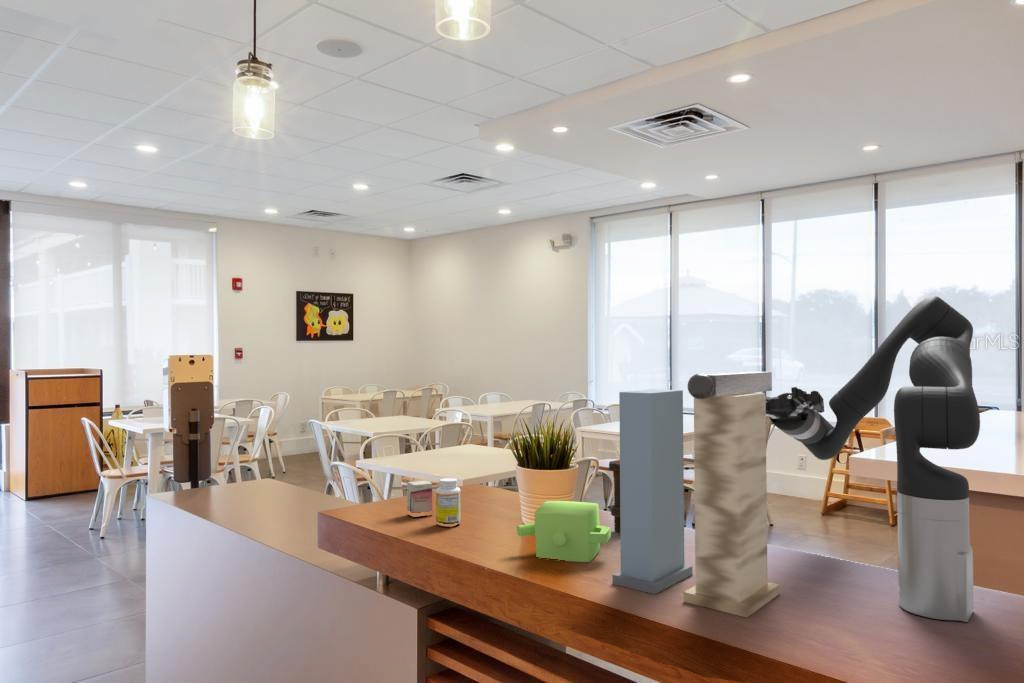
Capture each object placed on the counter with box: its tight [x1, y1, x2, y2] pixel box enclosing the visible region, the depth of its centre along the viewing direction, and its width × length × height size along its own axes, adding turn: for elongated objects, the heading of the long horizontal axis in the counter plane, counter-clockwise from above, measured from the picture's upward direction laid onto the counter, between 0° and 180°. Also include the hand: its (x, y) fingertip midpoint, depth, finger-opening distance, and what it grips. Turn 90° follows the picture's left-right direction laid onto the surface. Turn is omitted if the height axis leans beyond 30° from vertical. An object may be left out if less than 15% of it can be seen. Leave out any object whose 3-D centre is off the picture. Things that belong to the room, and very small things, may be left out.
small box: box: [406, 480, 433, 513], centre depth 165 cm, size 5×4×8 cm
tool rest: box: [683, 392, 780, 618], centre depth 109 cm, size 10×13×32 cm
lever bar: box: [687, 371, 773, 399], centre depth 110 cm, size 4×26×4 cm, turn 139°
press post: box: [611, 388, 693, 595], centre depth 118 cm, size 8×13×32 cm, turn 139°
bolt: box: [608, 459, 620, 533], centre depth 150 cm, size 6×5×15 cm
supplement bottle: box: [435, 477, 462, 524], centre depth 156 cm, size 6×6×10 cm
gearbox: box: [516, 500, 612, 563], centre depth 132 cm, size 18×10×10 cm, turn 70°
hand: (768, 394), depth 123 cm, fingers open, 8 cm apart
